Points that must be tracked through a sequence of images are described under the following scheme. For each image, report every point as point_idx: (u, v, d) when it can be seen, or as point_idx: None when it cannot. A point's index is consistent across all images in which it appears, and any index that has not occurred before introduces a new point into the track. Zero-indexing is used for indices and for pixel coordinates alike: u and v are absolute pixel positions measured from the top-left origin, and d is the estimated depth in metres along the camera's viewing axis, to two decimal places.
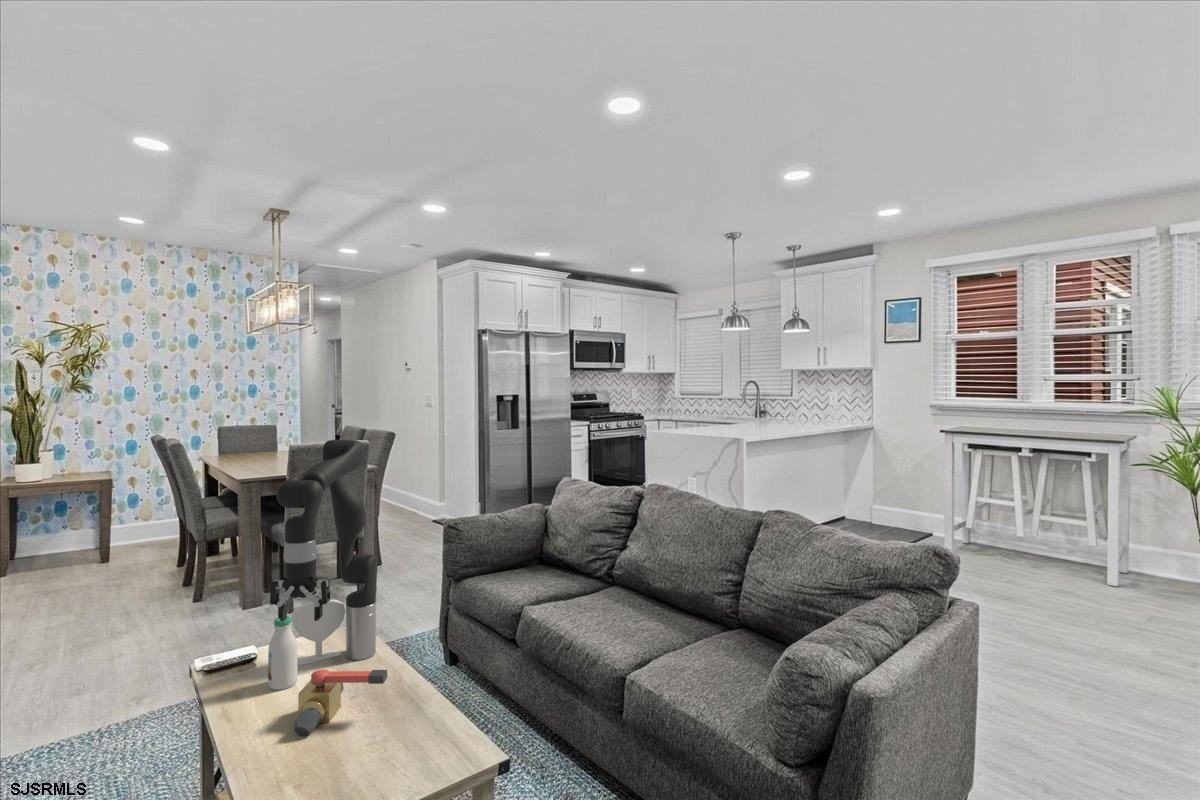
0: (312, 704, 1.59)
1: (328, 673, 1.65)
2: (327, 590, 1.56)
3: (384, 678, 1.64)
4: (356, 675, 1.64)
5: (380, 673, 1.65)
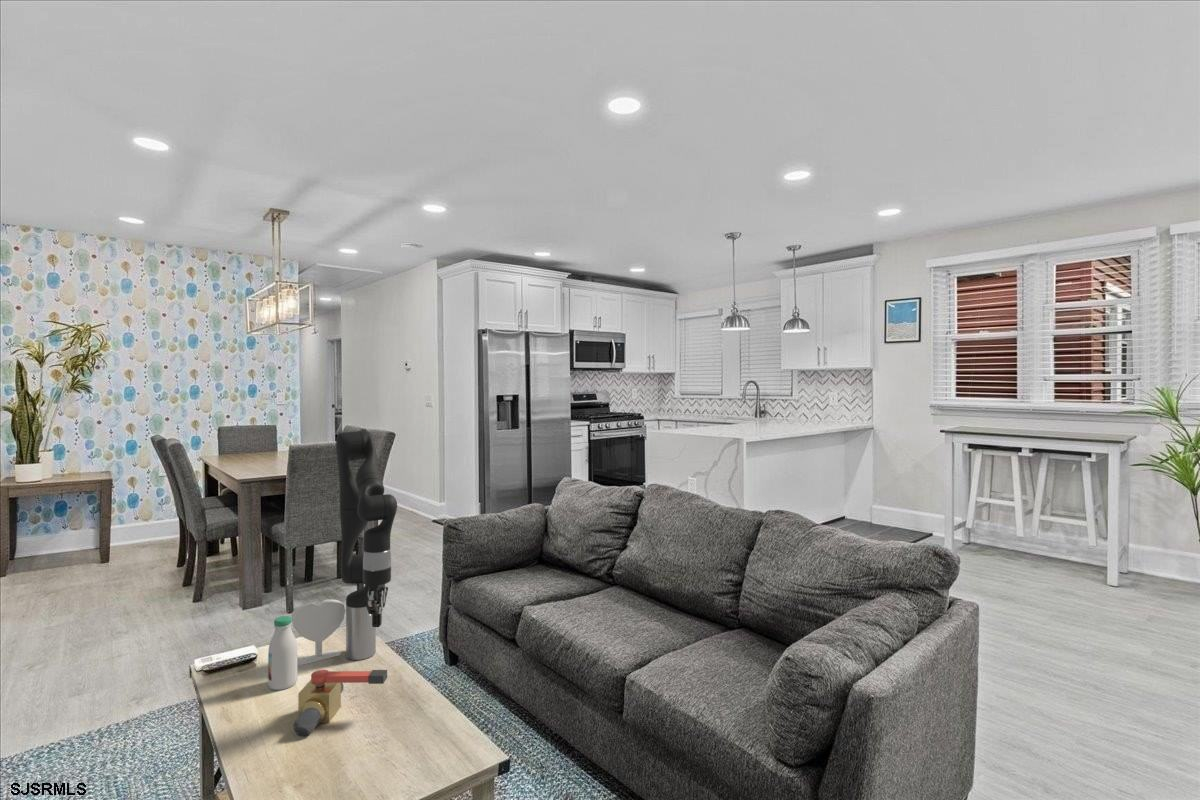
0: (312, 704, 1.59)
1: (328, 673, 1.65)
2: None
3: (384, 678, 1.64)
4: (356, 675, 1.64)
5: (380, 673, 1.65)
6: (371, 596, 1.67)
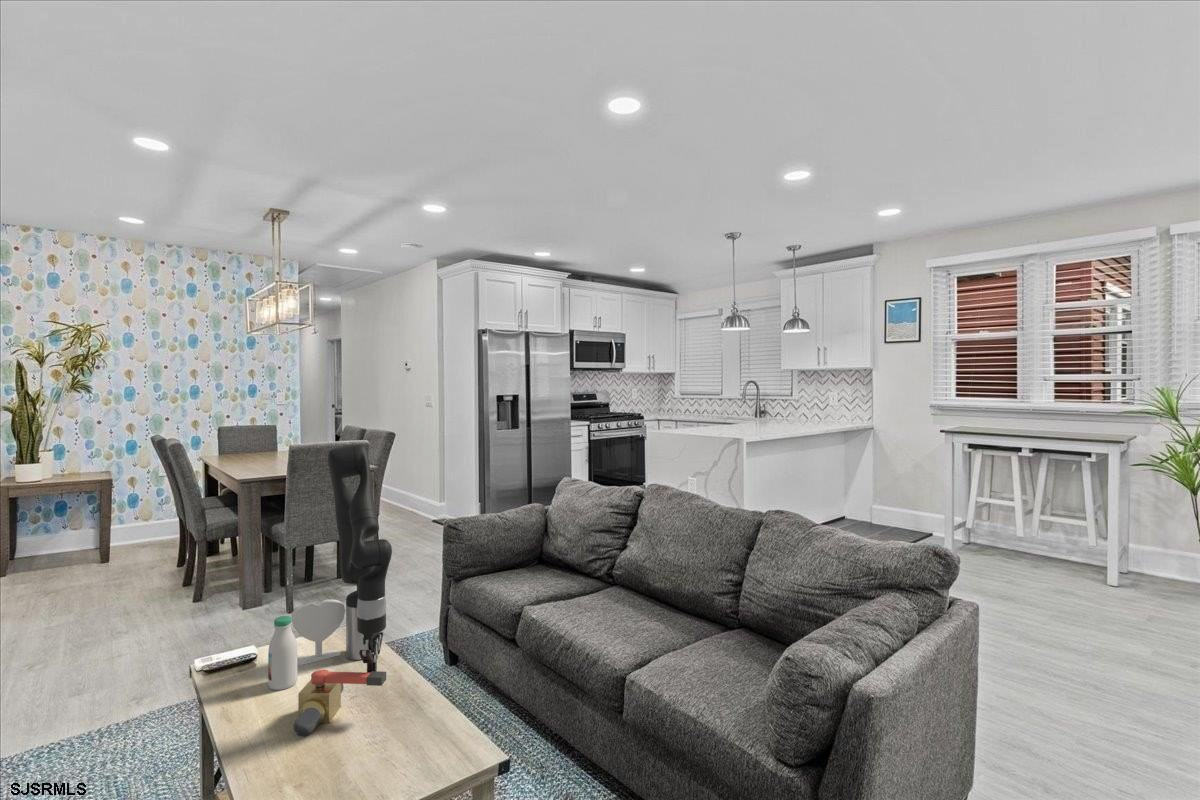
0: (312, 704, 1.59)
1: (328, 673, 1.65)
2: None
3: (382, 680, 1.63)
4: (355, 676, 1.64)
5: (379, 675, 1.64)
6: (365, 645, 1.63)
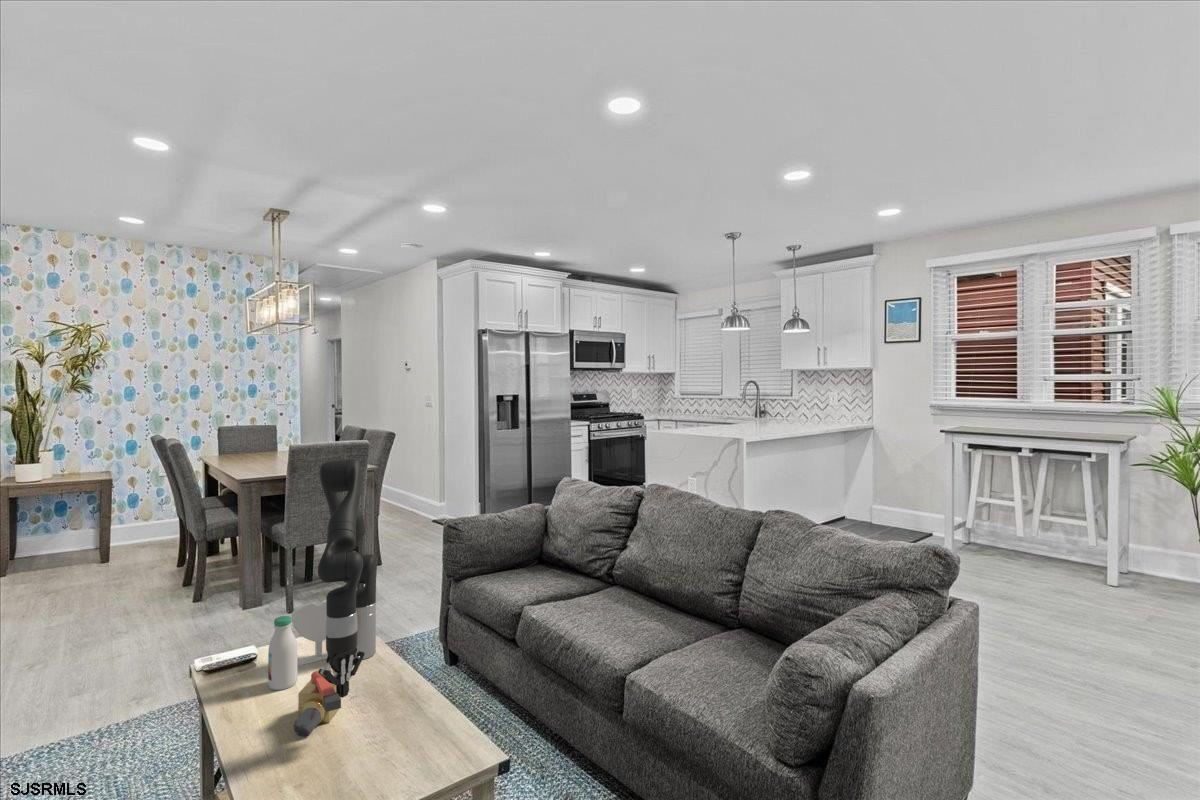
0: (312, 704, 1.59)
1: None
2: None
3: (328, 706, 1.50)
4: (323, 690, 1.56)
5: (330, 699, 1.51)
6: (326, 665, 1.52)
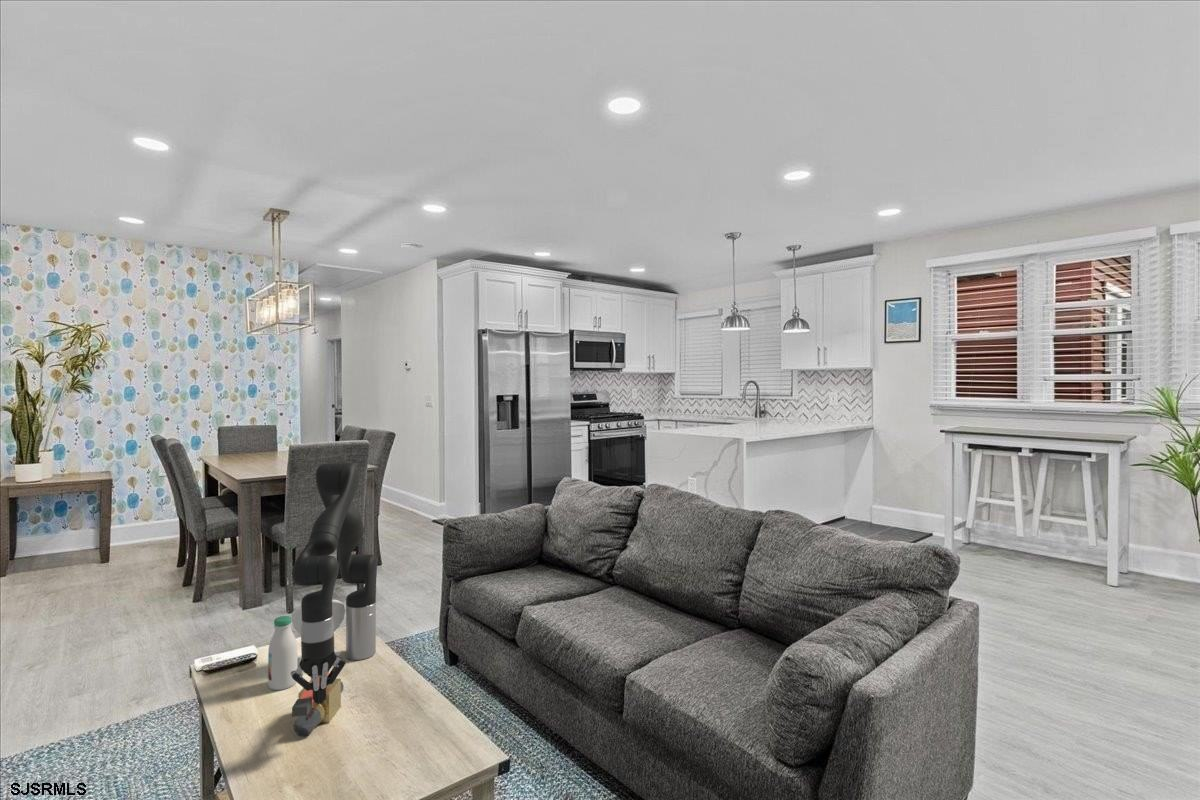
0: (312, 704, 1.59)
1: (318, 677, 1.63)
2: None
3: (294, 711, 1.47)
4: (304, 692, 1.55)
5: (299, 704, 1.49)
6: (298, 668, 1.50)
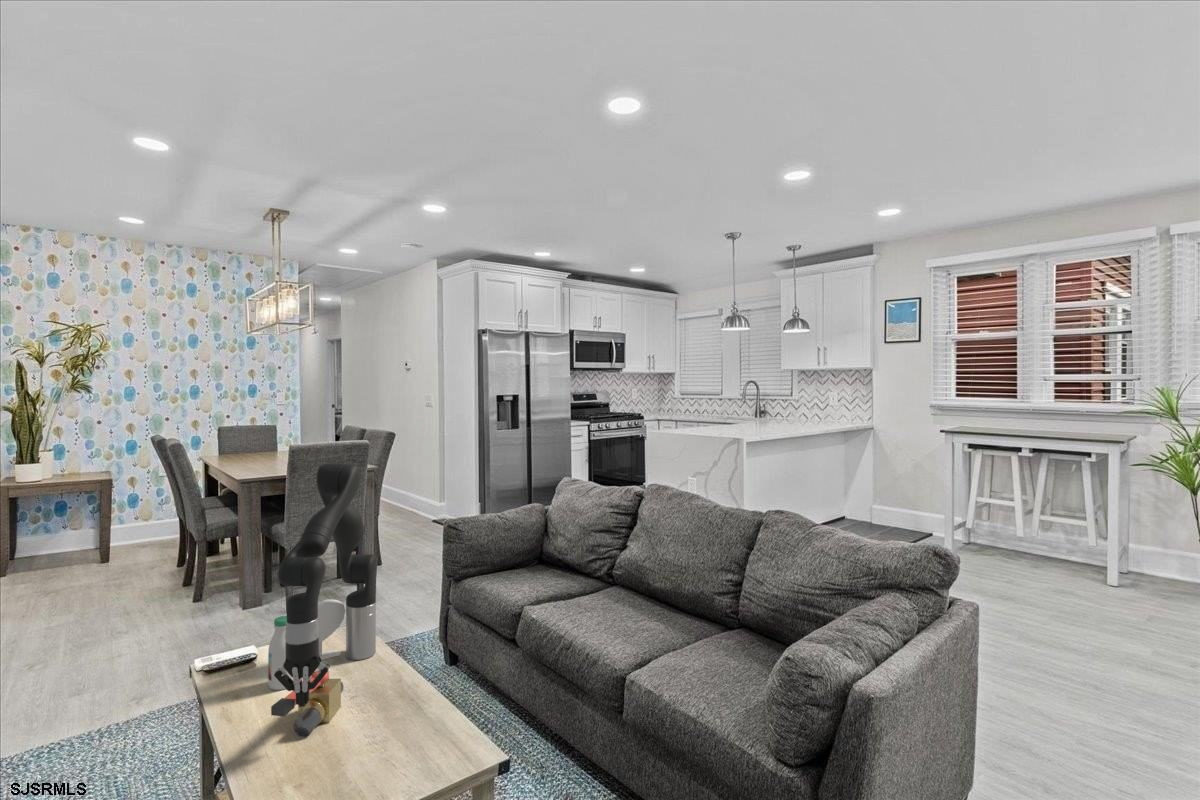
0: (312, 704, 1.59)
1: (315, 677, 1.63)
2: (322, 677, 1.52)
3: (273, 710, 1.48)
4: (293, 692, 1.55)
5: (279, 704, 1.49)
6: (282, 666, 1.51)
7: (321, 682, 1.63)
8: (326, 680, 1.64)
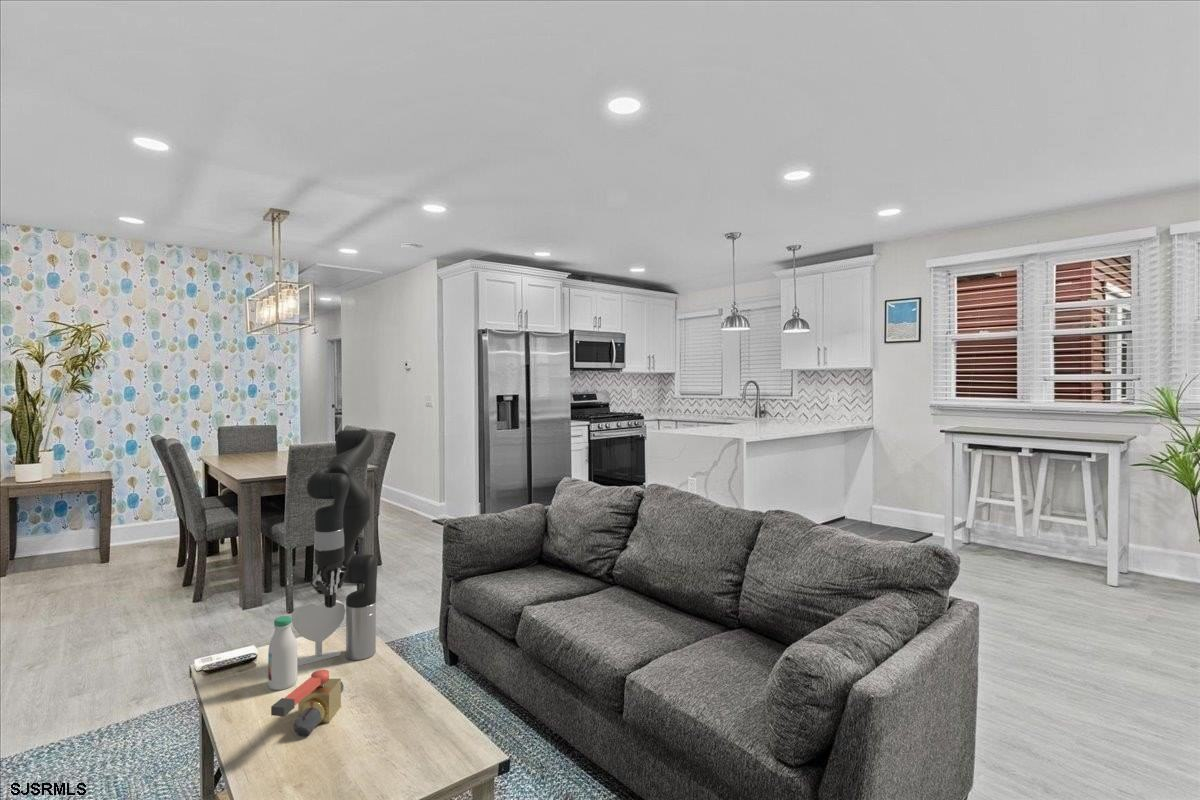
0: (312, 704, 1.59)
1: (315, 677, 1.63)
2: None
3: (273, 710, 1.48)
4: (293, 692, 1.55)
5: (279, 704, 1.49)
6: (318, 576, 1.63)
7: (321, 682, 1.63)
8: (326, 680, 1.64)
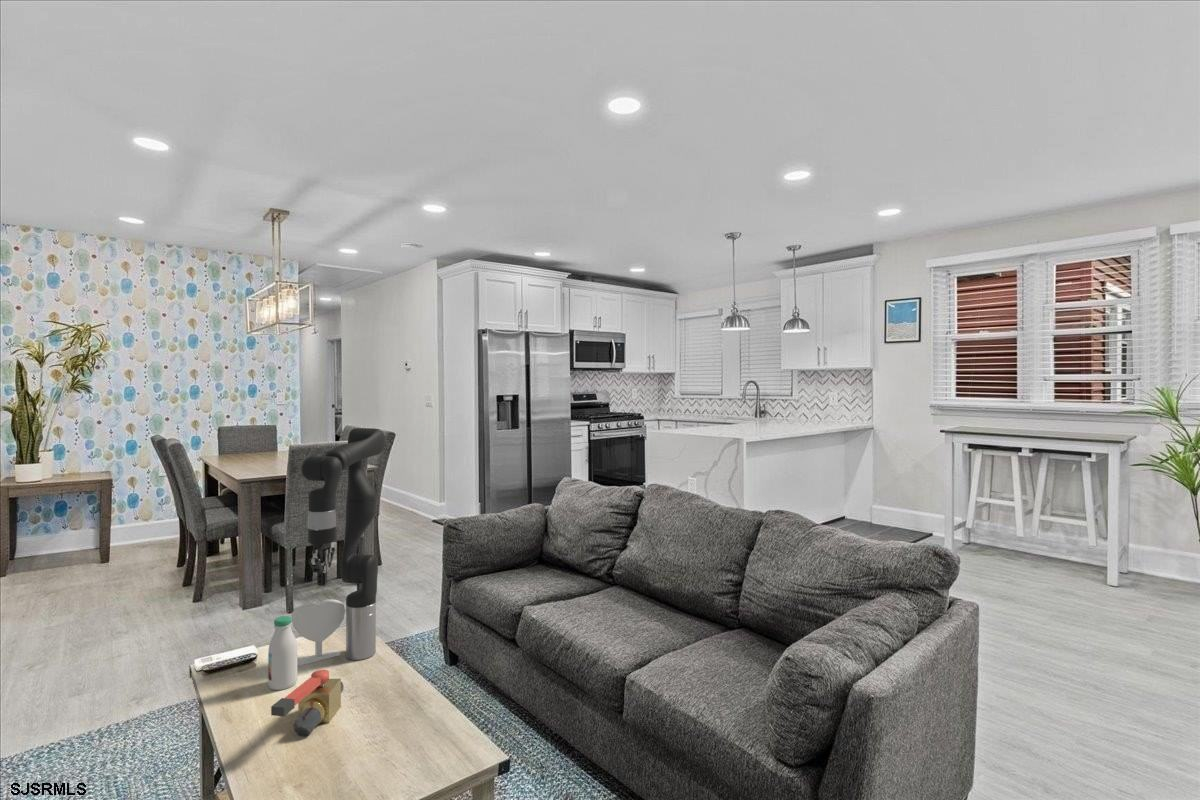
0: (312, 704, 1.59)
1: (315, 677, 1.63)
2: None
3: (273, 710, 1.48)
4: (293, 692, 1.55)
5: (279, 704, 1.49)
6: (315, 554, 1.70)
7: (321, 682, 1.63)
8: (326, 680, 1.64)
